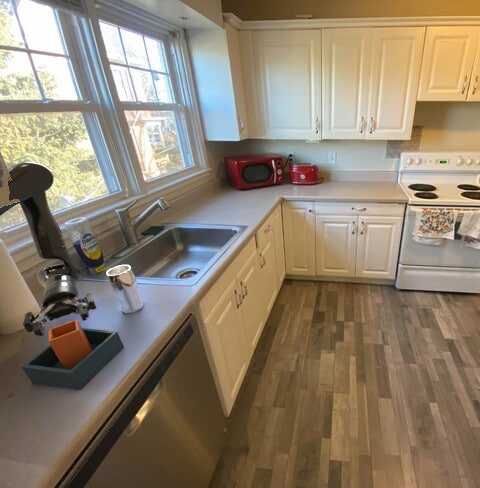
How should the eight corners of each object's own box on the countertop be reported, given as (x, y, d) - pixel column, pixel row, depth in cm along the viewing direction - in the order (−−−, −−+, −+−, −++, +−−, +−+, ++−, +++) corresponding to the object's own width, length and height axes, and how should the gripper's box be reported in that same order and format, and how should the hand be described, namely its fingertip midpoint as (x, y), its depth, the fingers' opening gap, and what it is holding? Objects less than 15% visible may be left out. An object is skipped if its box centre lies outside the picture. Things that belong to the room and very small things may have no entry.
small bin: (67, 374, 70) (48, 341, 66) (66, 360, 74) (48, 329, 69) (95, 362, 74) (78, 330, 69) (92, 349, 78) (77, 318, 73)
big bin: (32, 383, 69) (20, 366, 67) (82, 342, 81) (74, 327, 79) (80, 389, 67) (70, 373, 65) (124, 347, 79) (117, 331, 77)
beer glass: (119, 316, 91) (102, 277, 85) (123, 304, 97) (108, 267, 90) (143, 311, 94) (129, 272, 87) (146, 299, 99) (133, 262, 93)
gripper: (21, 296, 76) (16, 326, 65) (86, 277, 85) (91, 301, 74) (33, 317, 80) (31, 350, 69) (95, 297, 88) (101, 323, 77)
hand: (62, 325), depth 71 cm, fingers open, 8 cm apart
